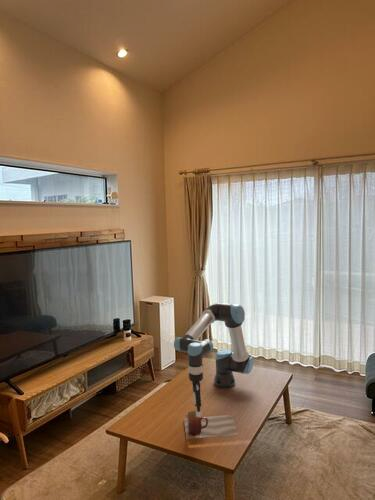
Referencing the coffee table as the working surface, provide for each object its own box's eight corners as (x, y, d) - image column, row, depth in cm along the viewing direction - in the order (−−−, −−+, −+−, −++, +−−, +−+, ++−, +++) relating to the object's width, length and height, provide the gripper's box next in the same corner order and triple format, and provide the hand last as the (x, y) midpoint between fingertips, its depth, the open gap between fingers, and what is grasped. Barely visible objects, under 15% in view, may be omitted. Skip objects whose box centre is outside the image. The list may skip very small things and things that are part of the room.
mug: (184, 435, 198) (183, 417, 197) (189, 426, 206) (189, 409, 206) (205, 439, 194) (205, 420, 193) (210, 430, 202) (210, 412, 201)
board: (183, 417, 218) (183, 415, 218) (230, 414, 220) (230, 412, 220) (186, 441, 196) (186, 438, 195) (238, 436, 198) (238, 434, 198)
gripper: (186, 363, 210) (188, 398, 212) (190, 383, 185) (192, 423, 187) (200, 362, 210) (201, 397, 213) (205, 382, 186) (207, 422, 188)
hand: (197, 409), depth 200 cm, fingers open, 13 cm apart
